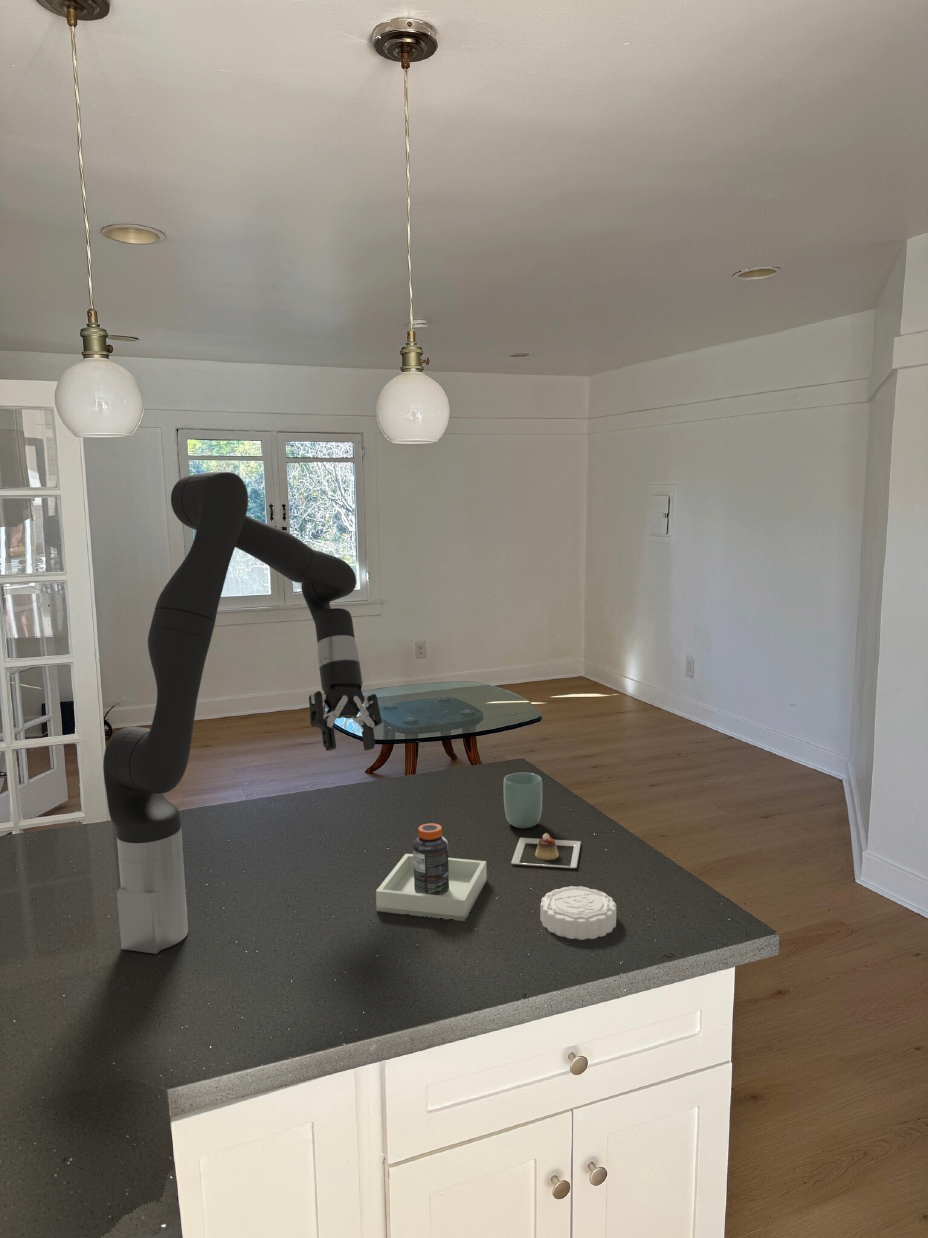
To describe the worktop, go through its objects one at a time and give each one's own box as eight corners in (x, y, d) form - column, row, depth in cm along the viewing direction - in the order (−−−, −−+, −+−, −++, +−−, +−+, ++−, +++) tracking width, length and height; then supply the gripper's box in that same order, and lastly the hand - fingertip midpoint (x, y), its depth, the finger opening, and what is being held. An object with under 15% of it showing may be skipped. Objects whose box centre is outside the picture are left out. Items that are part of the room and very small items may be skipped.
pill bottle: (451, 883, 144) (449, 820, 142) (447, 899, 138) (445, 834, 136) (417, 882, 144) (415, 820, 143) (411, 898, 139) (409, 833, 137)
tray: (464, 921, 132) (464, 900, 132) (376, 911, 136) (375, 891, 135) (486, 880, 146) (486, 861, 146) (406, 872, 150) (405, 853, 150)
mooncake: (557, 946, 125) (557, 924, 124) (529, 910, 136) (529, 889, 136) (629, 934, 128) (630, 912, 127) (596, 899, 139) (596, 879, 139)
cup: (497, 822, 173) (497, 775, 172) (530, 815, 177) (530, 770, 175) (515, 835, 166) (515, 787, 165) (549, 828, 170) (548, 781, 168)
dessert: (576, 873, 150) (576, 848, 149) (510, 869, 152) (510, 844, 152) (581, 846, 161) (581, 823, 161) (519, 842, 164) (519, 819, 163)
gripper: (318, 655, 147) (330, 745, 142) (381, 660, 157) (394, 744, 152) (295, 668, 152) (305, 755, 147) (357, 672, 162) (369, 754, 157)
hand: (350, 749), depth 149 cm, fingers open, 8 cm apart
